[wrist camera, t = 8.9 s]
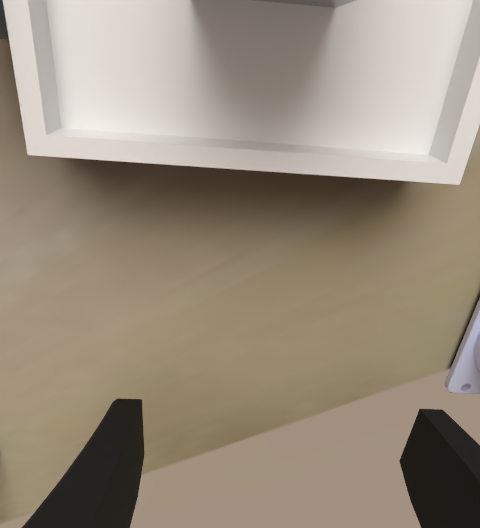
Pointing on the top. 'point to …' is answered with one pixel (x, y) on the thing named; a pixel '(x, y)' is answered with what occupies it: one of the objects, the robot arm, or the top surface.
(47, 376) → the top surface
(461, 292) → the top surface
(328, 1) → the steel block
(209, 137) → the kitchen scale
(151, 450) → the top surface
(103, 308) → the top surface
